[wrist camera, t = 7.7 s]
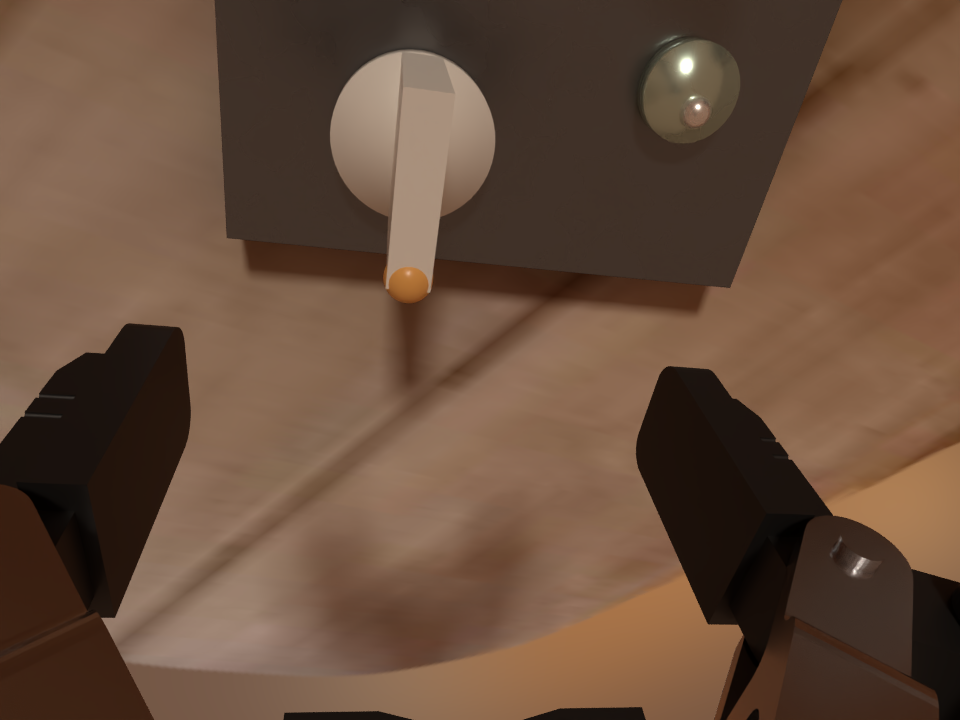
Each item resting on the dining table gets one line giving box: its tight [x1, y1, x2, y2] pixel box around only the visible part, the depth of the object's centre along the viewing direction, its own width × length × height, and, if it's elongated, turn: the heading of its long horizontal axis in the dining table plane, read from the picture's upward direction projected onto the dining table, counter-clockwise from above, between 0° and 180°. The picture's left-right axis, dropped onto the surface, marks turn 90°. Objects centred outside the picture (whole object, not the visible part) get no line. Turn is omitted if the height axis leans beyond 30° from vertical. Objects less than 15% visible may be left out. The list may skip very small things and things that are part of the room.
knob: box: [330, 49, 495, 303], centre depth 22 cm, size 7×6×7 cm
